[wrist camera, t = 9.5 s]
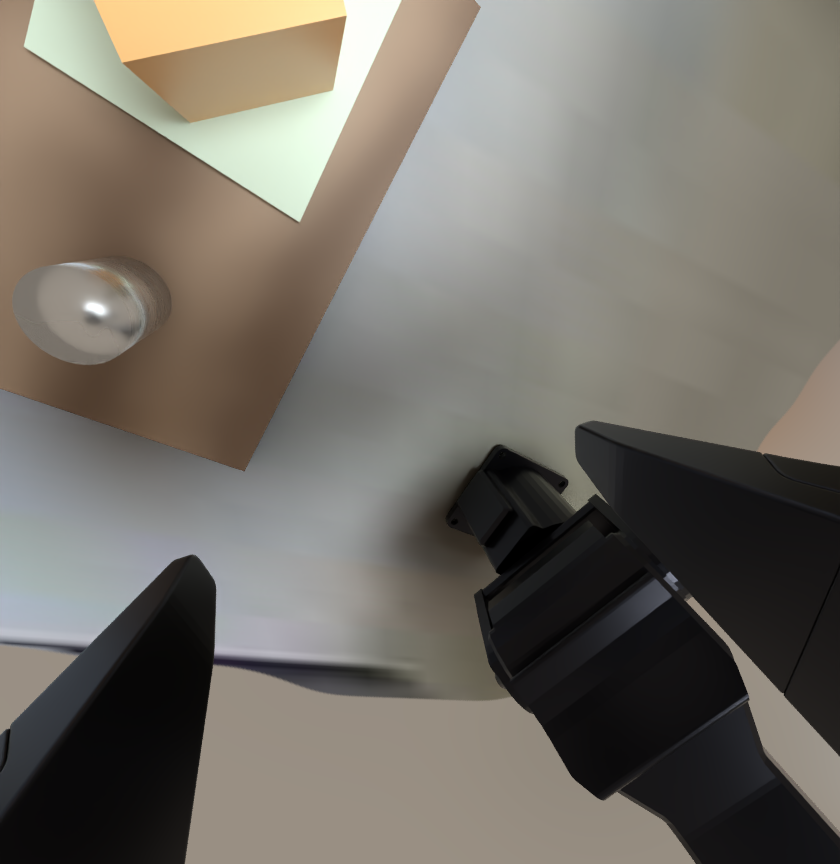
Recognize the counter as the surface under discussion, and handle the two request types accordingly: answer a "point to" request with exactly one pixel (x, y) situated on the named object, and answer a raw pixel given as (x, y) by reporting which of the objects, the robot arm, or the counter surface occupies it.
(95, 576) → the counter surface
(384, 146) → the board
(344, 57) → the pad
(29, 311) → the clear cylinder
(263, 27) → the box
